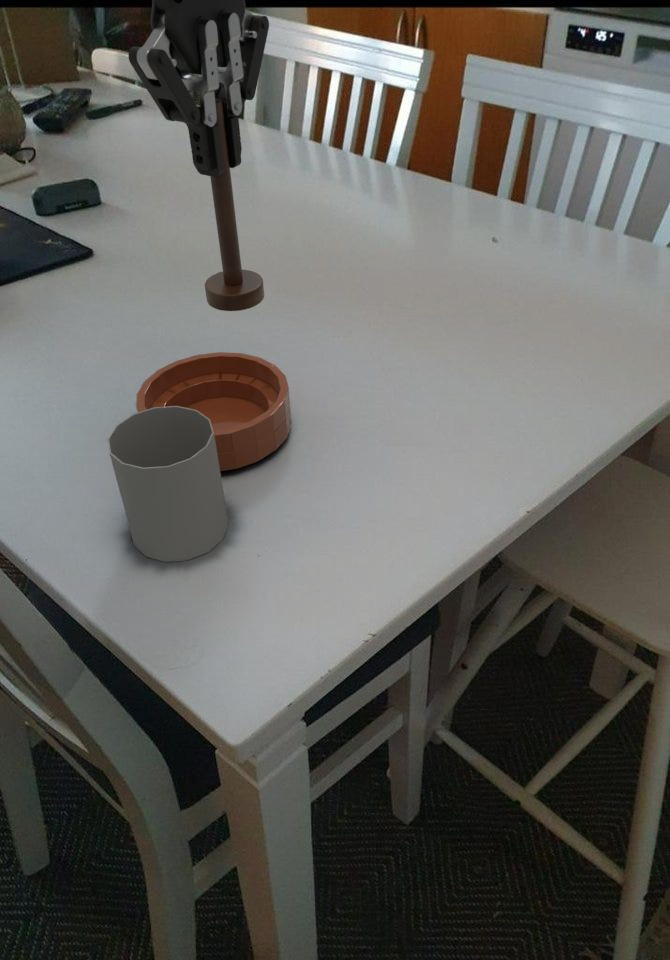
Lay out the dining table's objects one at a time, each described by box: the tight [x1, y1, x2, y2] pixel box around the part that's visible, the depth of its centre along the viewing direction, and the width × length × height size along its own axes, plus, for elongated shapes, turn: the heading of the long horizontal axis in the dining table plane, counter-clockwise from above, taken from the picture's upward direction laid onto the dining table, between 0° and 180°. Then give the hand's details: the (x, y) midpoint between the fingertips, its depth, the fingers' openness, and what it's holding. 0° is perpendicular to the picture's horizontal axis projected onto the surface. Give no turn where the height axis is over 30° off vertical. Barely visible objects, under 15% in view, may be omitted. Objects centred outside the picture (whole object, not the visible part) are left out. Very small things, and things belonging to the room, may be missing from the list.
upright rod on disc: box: [204, 98, 265, 312], centre depth 65 cm, size 5×5×16 cm
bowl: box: [135, 351, 292, 472], centre depth 80 cm, size 15×15×5 cm
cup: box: [107, 406, 230, 563], centre depth 68 cm, size 8×8×10 cm
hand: (219, 169), depth 63 cm, fingers closed on upright rod on disc
